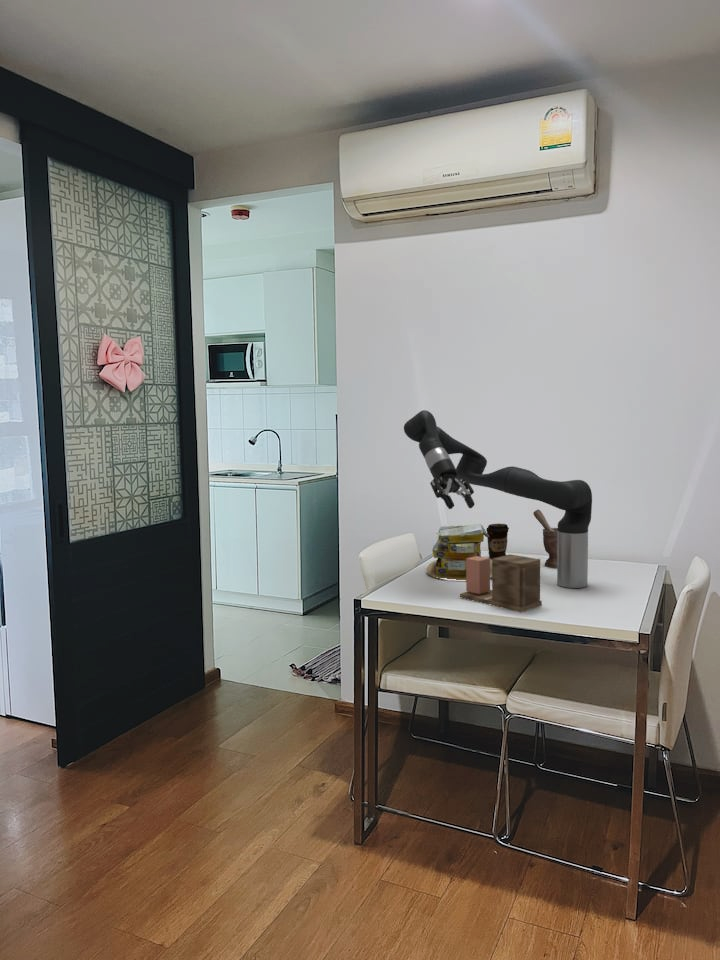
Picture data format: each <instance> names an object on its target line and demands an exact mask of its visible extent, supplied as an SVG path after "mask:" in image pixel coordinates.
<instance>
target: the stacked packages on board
mask: <svg viewBox="0 0 720 960" xmlns="http://www.w3.org/2000/svg"><path fill="white" fill-rule="evenodd" d="M438 529H439V530H438V532H436V535H437V534H438V536H437V538H438V539H437V540H436V542H435V544H434V545H433V547H432V554H433V558H434V559H436V560H433V561H431V562H430V563H429V564H428V565H427V566H426V573H427V574H428V575H430V576H431V577H432V578H435V577H438V578H447V579H456V580H466V559H467V558H471V557H475V556H479V557H482V555H481V554H482V549H481V543H483V542H484V541H485V540H484V536H485V538H487V537H489V535H487V530H486V529H485V528H484V526H483V524H481V523H477V524H472V525H471V524H470V525H469V524H467V525H451V526H450V525H449V526H447V525H441V526H439V528H438ZM490 579H492V560H491V559H490Z"/></svg>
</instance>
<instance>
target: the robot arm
mask: <svg viewBox="0 0 720 960" xmlns="http://www.w3.org/2000/svg"><path fill="white" fill-rule="evenodd" d="M403 431H404V434H405V435H406V436H407V437H408V438H409V439H410V440H412V441H414V442H415V443H416V442H417V443H418V448H419V450H420V453H421V454H422V456H423V458H424V460H425V463H426V466H427V468H428V470H429V471H430V474H431V476H432V478H433V479H432V480H431V481H430V483H429V484H430V486H431V489H432V491H433V493H434V495H435V497H436V498H437V499H442V501H443V502H444V503H445V505H446V507H447V509H448V510H453V508H454V507H455V502H454V501H453V499H452V497H451V495H449V494H451V493H453V494H456V495H457V496H461V497H462V498H463V499H464V502H465V503H466V505H467V507H468V509H472V508H474V506H475V501H474V499H473V498H472V495H473V494H475V490H474V489H473V487H472V486H471V485H473V486H480V487H484V488H490V489H494V490H496V491H500V492H504V493H506V494H509V495H513V496H517V497H522V498H525V499H530V500H533V501H539V502H542V503H544V504H547V505H549V506H552V507H554V508H556V509H559V510H561V511H565V512H564V515H563V516H562V518H561V519H560V520H559V521H558V523H557V528H558V551H557V567H556V568H557V569H556V572H557V574H556V577H557V578H556V581H557V583H556V584H557V585H558V586H559V587H561V588H562V587H563V588H569V589H571V588H572V589H581V588H586V587H588V579H589V578H588V577H589V576H588V575H589V574H588V572H589V566H588V565H589V526H590V523H591V520H592V508H593V507H592V506H593V494H592V493H593V492H592V489H591V486H590V485H589V484H588V483H587V482H586V481H584V480H583V479H573V480H567V481H564V480H563V481H559V480H558V481H557V480H551V479H545V478H542V477H540V476H539V475H538V474H537V473H535V472H533V471H532V470H528V469H526V468H521V467H517V466H506V467H503V468H500V469H497V470H495V471H492V472H489V473H484V472H485V469H486V467H487V463H488V461H487V458H486V457H485V456H484V455H483V454H481V453H480V452H478V451H476V450H475V449H473V448H471V447H470V446H468V445H466V444H465V443H462V442H460V441H458V440H457V439H455V438H454V437H452V436H451V435H449V434H448V433H447V432H446V431H444V430H443V429H442V428H441V427H440V426H437V421H436V419H435V416H434V415H433V413H432V412H430V411H428V410H426V409H425V410H421V411H419V412H418V413H417V414H415V415H414V416H413V417H411V418H409V420H408V421H406V422H405V423H404V425H403ZM455 454H461V458H460V459H459V462H458V463H457V465H456V466H455V464H454V462H453V461H452V459H451V457H450V455H455Z"/></svg>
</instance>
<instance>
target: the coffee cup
mask: <svg viewBox="0 0 720 960" xmlns="http://www.w3.org/2000/svg"><path fill="white" fill-rule="evenodd" d="M509 530H510V528H509V527H508V524H505V523H492V524H488V526H487V528H486V529H485V531H486V532H487V535H489V537H486V538H487V550H488V558H490V559H491V560H492V559H493V558H497V557H501V556H505V555H507V552H506V551H507V547H508V533H509Z"/></svg>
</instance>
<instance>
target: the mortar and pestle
mask: <svg viewBox="0 0 720 960" xmlns="http://www.w3.org/2000/svg"><path fill="white" fill-rule="evenodd" d="M532 513H533V516H534V518H535V519H536V520H537V522H539V524H541V526H542V527H543V528H542V536H543V537H542V540H543V541H542V542H543V547H544V550H545V552H546V554H548V558H547V559H546V560H545V562H544V564H545V565H544V566H545V567H548V568H557V551H558V527H552V526H550V524H549V523H548V521H547V519H546V517H545V515H544V513H543V512H542V511H541V510H540V509H535V511H533V512H532Z"/></svg>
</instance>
